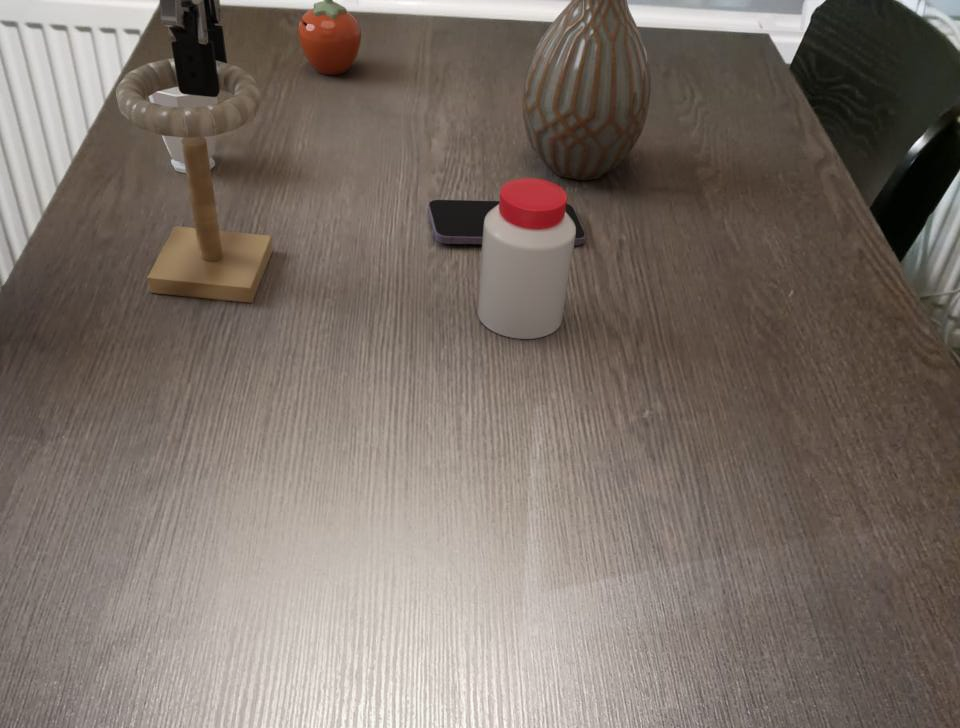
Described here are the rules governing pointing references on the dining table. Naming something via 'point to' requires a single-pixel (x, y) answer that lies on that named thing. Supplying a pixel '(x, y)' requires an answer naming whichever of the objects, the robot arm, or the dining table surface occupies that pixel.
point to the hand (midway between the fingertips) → (204, 84)
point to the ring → (187, 119)
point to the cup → (174, 145)
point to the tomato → (329, 37)
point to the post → (208, 245)
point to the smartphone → (473, 220)
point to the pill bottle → (526, 260)
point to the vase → (587, 89)
